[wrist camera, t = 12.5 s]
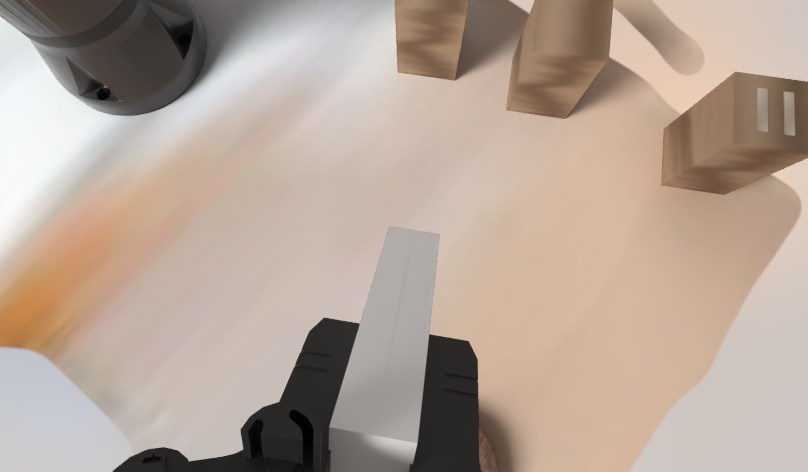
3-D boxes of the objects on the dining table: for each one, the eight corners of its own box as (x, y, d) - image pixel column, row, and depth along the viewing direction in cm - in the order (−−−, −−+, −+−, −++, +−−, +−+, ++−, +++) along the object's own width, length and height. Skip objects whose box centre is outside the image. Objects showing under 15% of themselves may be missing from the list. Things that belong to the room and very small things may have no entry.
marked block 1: (661, 185, 43) (736, 141, 33) (663, 127, 45) (736, 69, 35) (723, 194, 43) (818, 153, 33) (724, 136, 44) (815, 80, 34)
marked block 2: (397, 72, 46) (394, 1, 36) (407, 21, 47) (406, -61, 38) (454, 80, 46) (467, 11, 36) (462, 29, 47) (477, -52, 37)
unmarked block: (506, 110, 45) (533, 48, 35) (512, 58, 46) (540, -15, 37) (565, 118, 45) (608, 59, 35) (570, 66, 46) (613, -5, 36)
